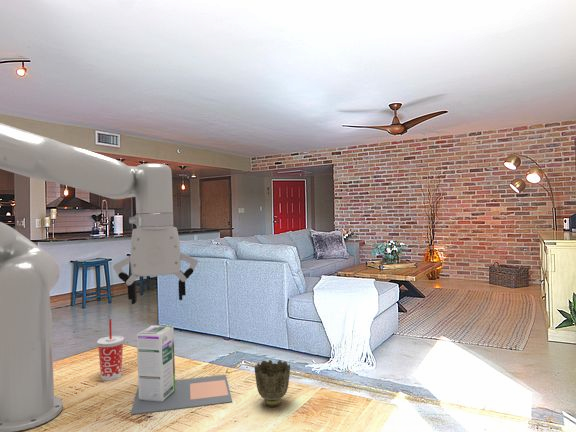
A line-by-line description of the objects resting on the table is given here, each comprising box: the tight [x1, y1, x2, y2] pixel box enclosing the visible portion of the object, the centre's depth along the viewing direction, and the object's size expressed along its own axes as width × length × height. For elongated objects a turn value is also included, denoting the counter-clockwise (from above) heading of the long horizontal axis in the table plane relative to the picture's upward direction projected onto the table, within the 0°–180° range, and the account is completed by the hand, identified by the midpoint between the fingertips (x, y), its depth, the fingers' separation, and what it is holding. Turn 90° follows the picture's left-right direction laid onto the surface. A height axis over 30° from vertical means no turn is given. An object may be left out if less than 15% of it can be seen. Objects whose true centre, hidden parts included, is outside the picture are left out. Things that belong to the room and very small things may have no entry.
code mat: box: [130, 374, 233, 416], centre depth 90 cm, size 20×14×1 cm
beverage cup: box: [96, 318, 125, 381], centre depth 99 cm, size 6×6×14 cm
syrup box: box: [136, 324, 176, 402], centre depth 88 cm, size 6×6×14 cm
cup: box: [253, 359, 291, 408], centre depth 85 cm, size 8×7×8 cm
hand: (157, 300), depth 88 cm, fingers open, 9 cm apart
